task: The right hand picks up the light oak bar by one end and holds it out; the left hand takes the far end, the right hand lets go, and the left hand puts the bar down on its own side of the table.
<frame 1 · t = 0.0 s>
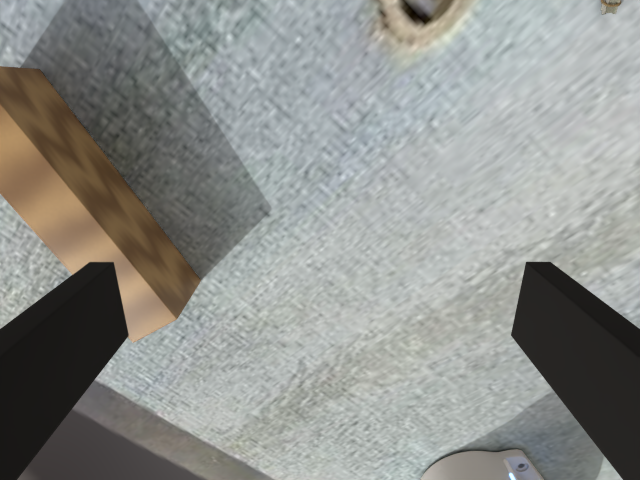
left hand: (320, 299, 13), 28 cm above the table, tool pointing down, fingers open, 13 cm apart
bar: (108, 197, 40), on the table
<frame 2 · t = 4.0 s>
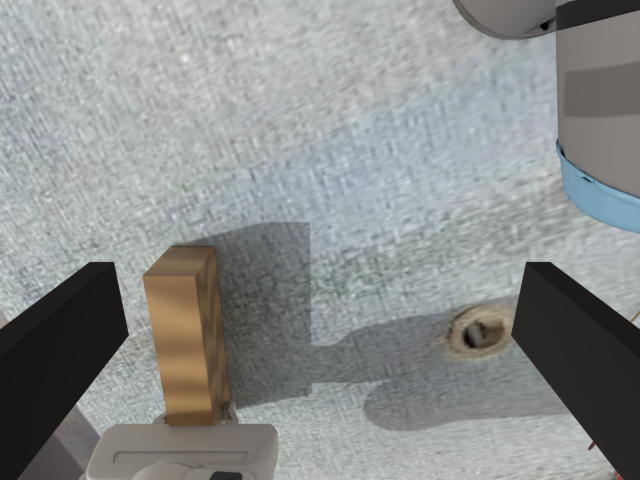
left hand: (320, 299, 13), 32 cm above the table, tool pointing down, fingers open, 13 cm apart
right hand: (205, 404, 52), fingers closed on bar, 5 cm apart
bar: (203, 335, 51), on the table, touching right hand
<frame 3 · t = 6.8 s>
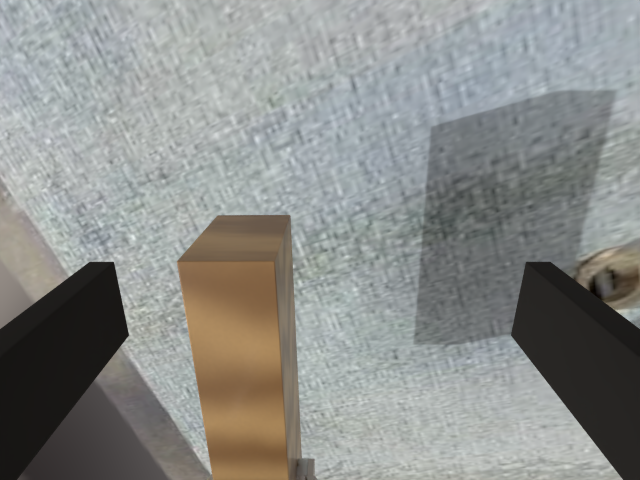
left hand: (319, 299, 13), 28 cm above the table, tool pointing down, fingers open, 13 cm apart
bar: (265, 357, 33), point 12 cm above the table, touching right hand
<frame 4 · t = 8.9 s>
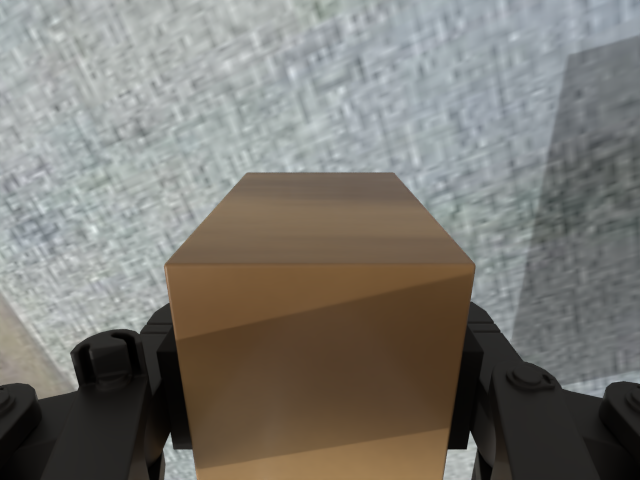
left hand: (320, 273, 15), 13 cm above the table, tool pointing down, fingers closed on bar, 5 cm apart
bar: (320, 438, 18), point 12 cm above the table, touching left hand, right hand
when the right hand's fingers open (15 cm above the table, at t = 9.9 s): bar moves 1 cm, held by the left hand.
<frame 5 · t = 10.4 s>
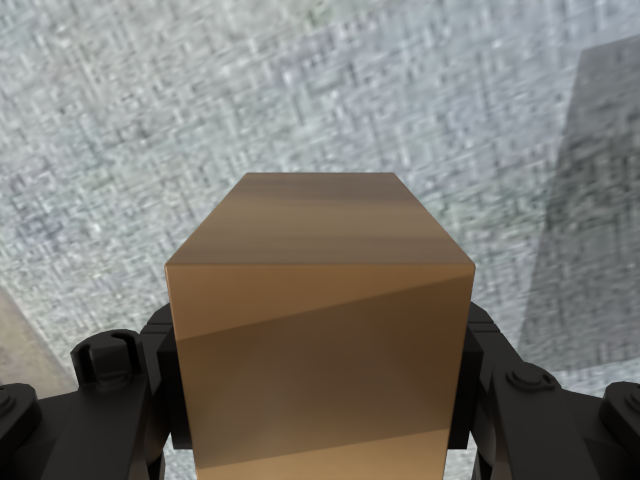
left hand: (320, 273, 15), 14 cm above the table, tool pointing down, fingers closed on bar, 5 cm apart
bar: (320, 438, 18), point 13 cm above the table, touching left hand
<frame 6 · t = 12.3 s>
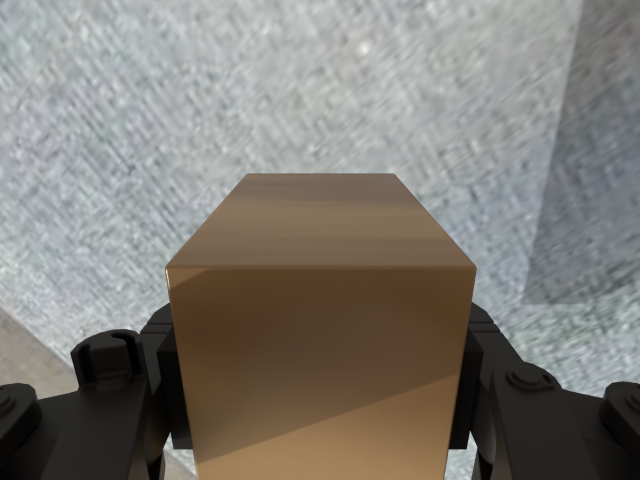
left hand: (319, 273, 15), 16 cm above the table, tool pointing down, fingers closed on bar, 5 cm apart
bar: (320, 439, 18), point 15 cm above the table, touching left hand
when the left hand's fingers open (2 cm above the table, at t = 15.7 s): bar drops 1 cm, on the table.
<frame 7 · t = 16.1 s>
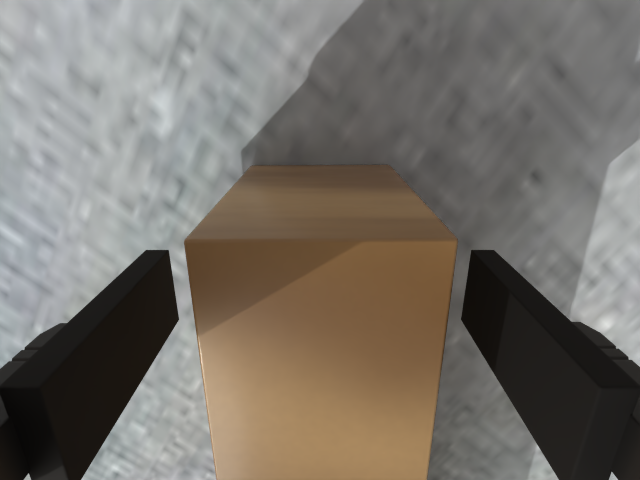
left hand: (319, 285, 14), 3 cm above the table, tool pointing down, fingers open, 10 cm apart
bar: (321, 419, 19), on the table
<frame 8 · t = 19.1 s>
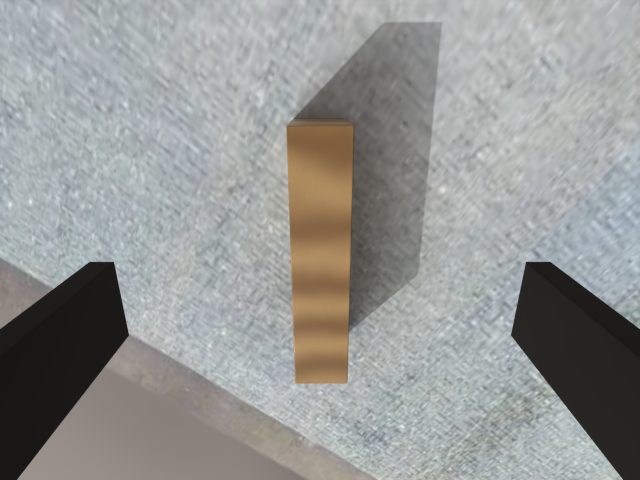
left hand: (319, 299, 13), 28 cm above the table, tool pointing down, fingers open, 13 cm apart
bar: (320, 239, 42), on the table
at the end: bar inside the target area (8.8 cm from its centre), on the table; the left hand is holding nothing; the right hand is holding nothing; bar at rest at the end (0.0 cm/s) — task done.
